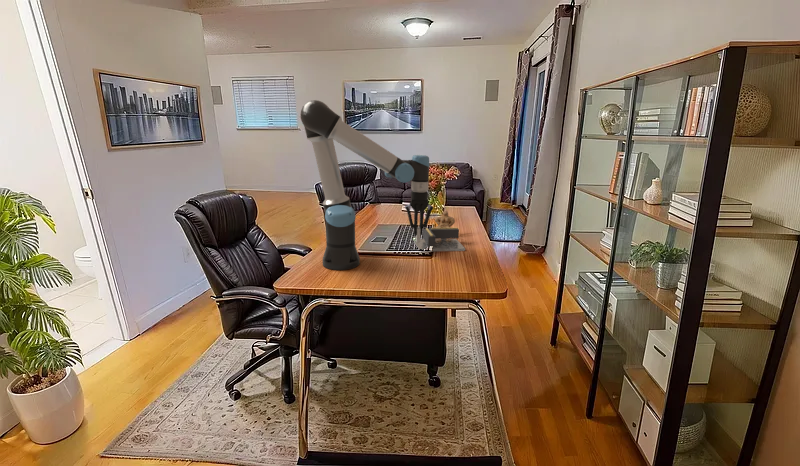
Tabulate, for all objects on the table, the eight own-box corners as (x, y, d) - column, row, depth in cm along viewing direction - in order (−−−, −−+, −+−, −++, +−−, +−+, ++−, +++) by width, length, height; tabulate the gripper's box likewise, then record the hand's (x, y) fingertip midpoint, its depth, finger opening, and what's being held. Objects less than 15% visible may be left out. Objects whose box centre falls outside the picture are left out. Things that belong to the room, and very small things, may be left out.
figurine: (431, 237, 196) (433, 208, 197) (435, 238, 205) (436, 211, 206) (452, 238, 193) (453, 209, 194) (454, 239, 202) (456, 211, 203)
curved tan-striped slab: (458, 240, 186) (459, 228, 184) (430, 240, 184) (431, 228, 183) (456, 238, 189) (457, 226, 187) (429, 238, 187) (429, 227, 186)
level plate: (417, 251, 172) (417, 247, 172) (412, 241, 188) (412, 237, 187) (465, 250, 175) (465, 246, 175) (455, 240, 190) (456, 236, 190)
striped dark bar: (428, 248, 172) (428, 235, 171) (422, 239, 186) (423, 227, 184) (435, 248, 173) (435, 235, 171) (429, 239, 186) (429, 227, 185)
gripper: (406, 192, 161) (404, 244, 168) (435, 192, 163) (433, 243, 169) (404, 189, 168) (402, 239, 175) (432, 189, 170) (430, 239, 176)
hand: (417, 241), depth 172 cm, fingers closed
